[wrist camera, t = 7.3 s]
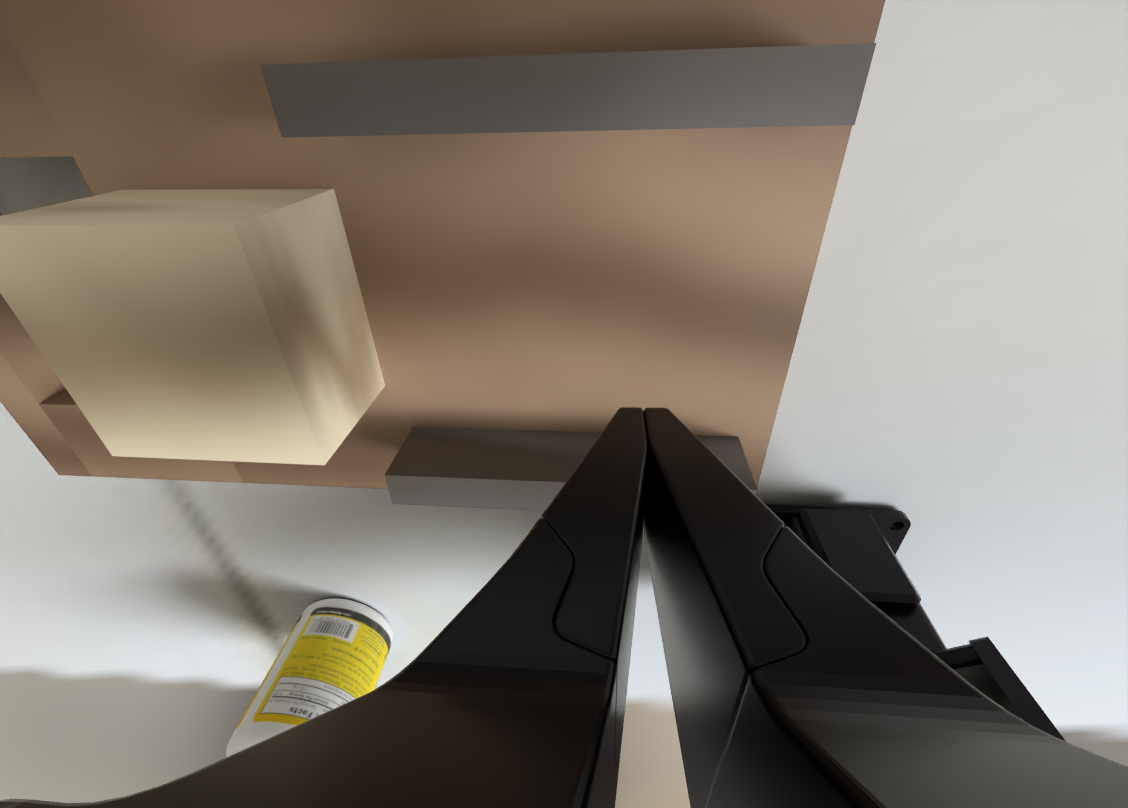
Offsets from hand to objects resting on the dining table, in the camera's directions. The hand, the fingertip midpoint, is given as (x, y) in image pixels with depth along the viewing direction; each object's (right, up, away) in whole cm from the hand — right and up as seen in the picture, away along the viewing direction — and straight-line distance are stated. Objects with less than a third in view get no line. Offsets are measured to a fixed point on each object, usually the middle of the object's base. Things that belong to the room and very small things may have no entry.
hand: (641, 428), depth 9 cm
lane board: (-8, +5, +8) cm, 12 cm away
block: (-10, +4, +6) cm, 12 cm away
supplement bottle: (-14, -12, +20) cm, 27 cm away
